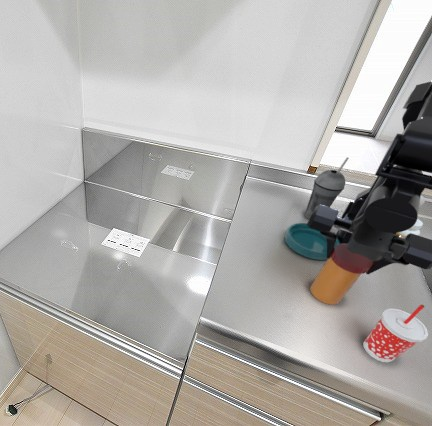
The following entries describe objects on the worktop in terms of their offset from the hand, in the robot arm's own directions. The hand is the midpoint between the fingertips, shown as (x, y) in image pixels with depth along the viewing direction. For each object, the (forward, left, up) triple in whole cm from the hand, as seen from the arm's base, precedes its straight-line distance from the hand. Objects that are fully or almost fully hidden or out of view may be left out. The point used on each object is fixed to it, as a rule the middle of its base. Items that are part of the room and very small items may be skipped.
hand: (346, 264), depth 60 cm
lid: (0, 0, +2) cm, 2 cm away
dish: (-16, -7, -10) cm, 20 cm away
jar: (-1, 0, -10) cm, 10 cm away
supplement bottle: (-28, +10, -10) cm, 31 cm away
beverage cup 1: (-31, -9, -10) cm, 34 cm away
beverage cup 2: (+8, +10, -10) cm, 17 cm away
